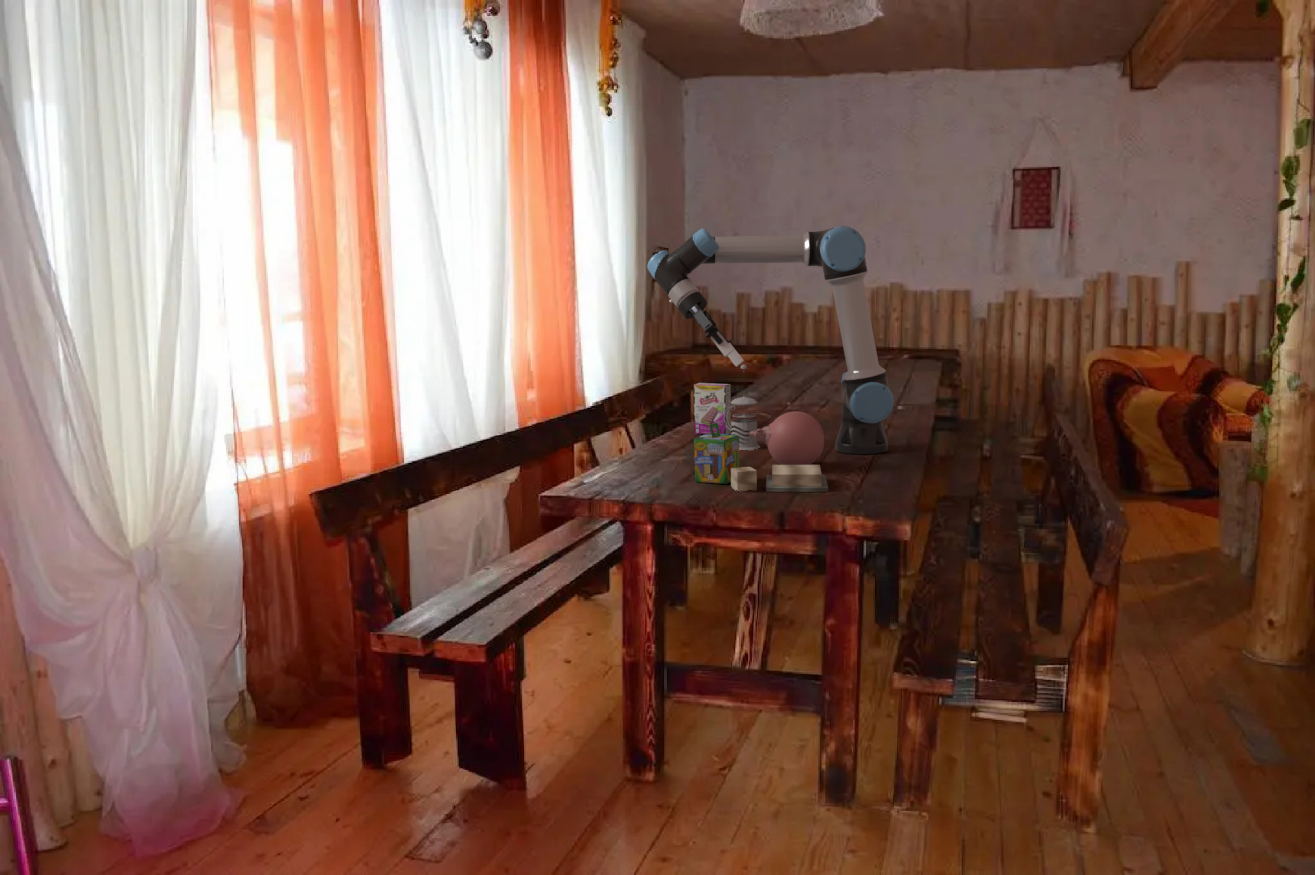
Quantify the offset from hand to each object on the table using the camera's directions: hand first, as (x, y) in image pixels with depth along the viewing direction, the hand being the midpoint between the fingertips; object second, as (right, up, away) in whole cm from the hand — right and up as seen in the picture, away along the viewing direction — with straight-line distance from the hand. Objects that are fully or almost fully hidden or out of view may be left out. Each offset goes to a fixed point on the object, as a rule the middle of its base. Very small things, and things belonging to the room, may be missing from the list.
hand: (734, 358), depth 285 cm
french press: (+5, -24, +37) cm, 44 cm away
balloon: (+15, -29, +5) cm, 33 cm away
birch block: (+1, -34, -19) cm, 39 cm away
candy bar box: (-3, -20, +60) cm, 64 cm away
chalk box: (-5, -32, -9) cm, 34 cm away
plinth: (+14, -33, -17) cm, 40 cm away
